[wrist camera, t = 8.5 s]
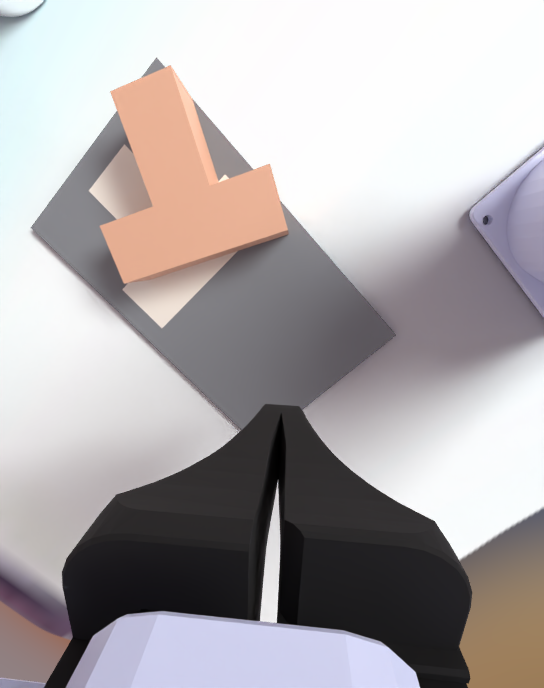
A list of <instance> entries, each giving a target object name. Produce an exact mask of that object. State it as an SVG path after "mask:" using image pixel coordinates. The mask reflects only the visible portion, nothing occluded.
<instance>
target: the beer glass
mask: <svg viewBox="0 0 544 688" xmlns="http://www.w3.org/2000/svg"><path fill="white" fill-rule="evenodd" d="M43 1H44V0H0V16H5V17H18V16H22V15H25V14H28V13H30V12H32V11H33V10H35V9H36V8H37V7H38V6H40V5H41V3H42V2H43Z"/></svg>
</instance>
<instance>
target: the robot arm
mask: <svg viewBox="0 0 544 688" xmlns="http://www.w3.org/2000/svg"><path fill="white" fill-rule="evenodd" d="M485 216H487V217H488V219H489V220H488V223H487V224H486V225H485V224H483V218H484V217H485ZM469 217H470V220H471V221H472V223H473V224H474V225H475V227H476V228H477V229H478V231H479V232H480V233H481V235H482V236H483V237H484V239H485V240H486V241H487V243H488V244H489V245H490V247H491V248H492V249H493V251H494V252H495V253H496V255H497V256H498V257H499V259H500V260H501V261H502V263H503V264H504V265H505V267H506V268H507V269H508V271H509V272H510V273H511V275H512V276H513V277H514V279H515V280H516V281H517V283H518V284H519V285H520V287H521V288H522V289H523V291H524V292H525V293H526V295H527V296H528V297H529V299H530V300H531V301H532V303H533V304H534V305H535V307H536V308H537V309H538V311H539V312H540V313H541V315H542V316H543V317H544V147H543V148H542V149H541V150H539V151H538V152H537V153H536V154H535V155H534V156H532V157H531V158H530V159H529V160H528V161H527V162H525V163H524V164H523V165H522V166H521V167H519V168H518V169H517V170H516V171H515V172H514V173H512V174H511V175H510V176H509V177H508V178H507V179H505V180H504V181H503V182H502V183H501V184H499V185H498V186H497V187H496V188H495V189H494V190H492V191H491V192H490V193H489V194H488V195H487V196H485V197H484V198H483V199H482V200H481V201H479V202H478V203H477V204H476V205H475V206H474V207H473V208H472V209H471V211H470V213H469ZM277 482H278V488H279V514H280V572H279V592H278V613H277V623H270V622H261V621H260V611H261V599H262V588H263V576H264V565H265V554H266V546H267V538H268V533H269V527H270V521H271V516H272V510H273V505H274V499H275V493H276V488H277ZM62 582H63V591H64V596H65V600H66V605H67V610H68V615H69V620H70V625H71V629H72V634H73V638H72V640H71V642H70V643H69V645H68V647H67V649H66V650H65V652H64V654H63V655H62V657H61V659H60V661H59V662H58V664H57V666H56V668H55V669H54V671H53V673H52V674H51V676H50V678H49V680H48V681H47V683H41V682H33V681H25V680H16V679H9V678H1V677H0V688H468V687H467V684H466V683H469V680H470V674H469V670H468V667H467V665H466V662H465V660H464V658H463V656H462V653H461V651H460V648H459V644H460V641H461V638H462V634H463V631H464V628H465V624H466V621H467V618H468V614H469V611H470V608H471V598H472V590H471V586H470V583H469V579H468V576H467V575H466V573H465V571H464V569H463V567H462V566H461V563H460V562H459V560H458V558H457V556H456V554H455V553H454V551H453V549H452V547H451V546H450V544H449V542H448V541H447V539H446V538H445V536H444V535H443V533H442V532H441V530H440V529H439V527H438V526H437V524H436V523H435V521H433V520H431V519H429V518H427V517H425V516H423V515H421V514H419V513H417V512H415V511H413V510H412V509H410V508H408V507H406V506H404V505H402V504H400V503H398V502H396V501H395V500H393V499H392V498H390V497H388V496H387V495H385V494H383V493H382V492H380V491H379V490H377V489H376V488H374V487H373V486H371V485H370V484H368V483H367V482H366V481H364V480H363V479H362V478H360V477H359V476H358V475H356V474H355V473H354V472H353V471H351V470H350V469H349V468H348V467H347V466H345V465H344V464H343V463H342V462H341V461H340V460H339V459H338V458H337V457H336V456H335V455H334V454H333V453H332V452H331V451H330V450H329V449H328V447H327V446H326V445H325V444H324V443H323V441H322V440H321V439H320V438H319V436H318V435H317V433H316V432H315V431H314V429H313V428H312V426H311V425H310V423H309V422H308V420H307V418H306V417H305V415H304V413H303V411H302V409H301V408H300V407H299V406H291V405H275V404H265V405H264V406H263V407H262V408H261V409H260V411H259V412H258V413H257V414H256V415H255V417H254V418H253V419H252V420H251V421H250V422H249V423H248V424H247V425H246V426H245V427H244V428H243V429H242V430H241V431H240V432H239V433H238V434H237V435H236V436H235V437H234V438H232V439H231V440H230V441H229V442H228V443H227V444H225V445H224V446H223V447H221V448H220V449H219V450H217V451H216V452H214V453H213V454H211V455H210V456H208V457H206V458H204V459H203V460H201V461H199V462H197V463H196V464H194V465H192V466H190V467H188V468H186V469H184V470H182V471H180V472H178V473H176V474H174V475H171V476H169V477H166V478H164V479H162V480H159V481H157V482H154V483H151V484H148V485H145V486H142V487H139V488H136V489H133V490H130V491H127V492H124V493H121V494H117V495H116V496H115V497H114V498H113V499H112V501H111V502H110V503H109V504H108V505H107V506H106V508H105V509H104V510H103V511H102V512H101V513H100V515H99V516H98V517H97V519H96V520H95V521H94V523H93V524H92V525H91V527H90V528H89V529H88V531H87V532H86V533H85V535H84V536H83V537H82V539H81V540H80V541H79V543H78V544H77V545H76V547H75V548H74V549H73V551H72V552H71V553H70V555H69V556H68V557H67V559H66V562H65V565H64V568H63V571H62Z"/></svg>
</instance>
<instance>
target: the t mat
mask: <svg viewBox="0 0 544 688" xmlns="http://www.w3.org/2000/svg"><path fill="white" fill-rule="evenodd" d="M163 68H165V67H164V66H163V64H162V63H161V62H160V61H159V60H158V59H157V58H156V59H155V60H154V62H153V63H152V64H151V66H150V67H149V68H148V70H147V71H146V72H145V74H144V75H143V76H142V78H143V77H145V76H147V75H149V74H152V73H154V72H156V71H159V70H161V69H163ZM193 103H194V106H195V109H196V112H197V115H198V118H199V122H200V125H201V128H202V131H203V134H204V137H205V140H206V144H207V147H208V150H209V153H210V156H211V159H212V163H213V166H214V169H215V172H216V175H217V178H218V181H219V182H221V181H224V180H227V179H230V178H232V177H235V176H238V175H241V174H243V173H246V172H249V171H251V170H253V169H252V168H251V166H250V165H249V164H248V163H247V162H246V161H245V159H244V158H243V157H242V156H241V155H240V154H239V153H238V151H237V150H236V149H235V148H234V147H233V146H232V144H231V143H230V142H229V141H228V140H227V139H226V137H225V136H224V135H223V134H222V133H221V132H220V131H219V129H218V128H217V127H216V126H215V125H214V124H213V122H212V121H211V120H210V119H209V118H208V117H207V115H206V114H205V113H204V112H203V111H202V110H201V108H200V107H199V106H198V105H197V104H196V103H195V102H194V100H193ZM280 203H281V207H282V210H283V214H284V217H285V221H286V225H287V228H288V233H289V234H288V235H285V236H282V237H279V238H276V239H273V240H270V241H267V242H264V243H260V244H257V245H254V246H251V247H248V248H245V249H242V250H239V251H236V252H233V253H230V254H227V255H224V256H221V257H218V258H215V259H212V260H208V261H205V262H202V263H199V264H196V265H193V266H190V267H187V268H184V269H181V270H178V271H175V272H172V273H169V274H166V275H163V276H160V277H156V278H153V279H150V280H145V281H138V282H132V283H126V284H124V283H123V280H122V278H121V276H120V273H119V271H118V268H117V266H116V264H115V261H114V259H113V257H112V254H111V252H110V249H109V247H108V245H107V242H106V240H105V238H104V235H103V233H102V230H101V228H100V226H101V225H103V224H106V223H109V222H112V221H114V220H117V219H120V218H123V217H125V216H128V215H131V214H134V213H136V212H139V211H142V210H145V209H147V208H150V207H153V205H152V202H151V199H150V197H149V194H148V191H147V189H146V186H145V183H144V181H143V178H142V175H141V173H140V170H139V167H138V165H137V162H136V159H135V157H134V154H133V151H132V149H131V146H130V143H129V141H128V138H127V135H126V132H125V130H124V127H123V124H122V122H121V119H120V116H119V114H118V111H117V112H116V113H115V114H114V116H113V117H112V118H111V120H110V121H109V123H108V124H107V125H106V127H105V128H104V129H103V131H102V132H101V133H100V135H99V136H98V137H97V139H96V140H95V141H94V143H93V144H92V146H91V147H90V148H89V150H88V151H87V152H86V154H85V155H84V156H83V158H82V159H81V160H80V162H79V163H78V165H77V166H76V167H75V169H74V170H73V171H72V173H71V174H70V175H69V177H68V178H67V179H66V181H65V182H64V183H63V185H62V186H61V188H60V189H59V190H58V192H57V193H56V194H55V196H54V197H53V198H52V200H51V201H50V202H49V204H48V205H47V207H46V208H45V209H44V211H43V212H42V213H41V215H40V216H39V217H38V219H37V220H36V221H35V223H34V224H33V225H32V227H31V228H32V229H33V230H34V231H35V232H36V233H37V234H38V235H39V236H40V237H41V238H42V239H43V240H44V241H45V242H46V243H47V244H48V245H49V246H50V247H52V248H53V249H54V250H55V251H56V252H57V253H58V254H59V255H60V256H61V257H62V258H63V259H64V260H65V261H66V262H67V263H68V264H69V265H70V266H71V267H72V268H73V269H74V270H75V271H77V272H78V273H79V274H80V275H81V276H82V277H83V278H84V279H85V280H86V281H87V282H88V283H89V284H90V285H91V286H92V287H93V288H94V289H95V290H96V291H97V292H98V293H99V294H100V295H101V296H103V297H104V298H105V299H106V300H107V301H108V302H109V303H110V304H111V305H112V306H113V307H114V308H115V309H116V310H117V311H118V312H119V313H120V314H121V315H122V316H123V317H124V318H125V319H126V320H128V321H129V322H130V323H131V324H132V325H133V326H134V327H135V328H136V329H137V330H138V331H139V332H140V333H141V334H142V335H143V336H144V337H145V338H146V339H147V340H148V341H149V342H150V343H151V344H153V345H154V346H155V347H156V348H157V349H158V350H159V351H160V352H161V353H162V354H163V355H164V356H165V357H166V358H167V359H168V360H169V361H170V362H171V363H172V364H173V365H174V366H175V367H176V368H177V369H179V370H180V371H181V372H182V373H183V374H184V375H185V376H186V377H187V378H188V379H189V380H190V381H191V382H192V383H193V384H194V385H195V386H196V387H197V388H198V389H199V390H200V391H201V392H202V393H204V394H205V395H206V396H207V397H208V398H209V399H210V400H211V401H212V402H213V403H214V404H215V405H216V406H217V407H218V408H219V409H220V410H221V411H222V412H223V413H224V414H225V415H226V416H227V417H229V418H230V419H231V420H232V421H233V422H234V423H235V424H236V425H237V426H238V427H239V428H240V429H241V430H242V429H243V428H244V427H245V426H246V425H247V424H248V423H249V422H250V421H251V420H252V419H253V418H254V417H255V415H256V414H257V413H258V412H259V411H260V409H261V408H262V407H263V406H264V405H265V404H275V405H291V406H299V407H300V408H301V409H303V408H305V407H306V406H307V405H308V404H310V403H311V402H312V401H313V400H315V399H316V398H317V397H319V396H320V395H321V394H322V393H324V392H325V391H326V390H327V389H329V388H330V387H331V386H332V385H334V384H335V383H336V382H337V381H339V380H340V379H341V378H343V377H344V376H345V375H346V374H348V373H349V372H350V371H351V370H353V369H354V368H355V367H356V366H358V365H359V364H360V363H361V362H363V361H364V360H365V359H367V358H368V357H369V356H370V355H372V354H373V353H374V352H375V351H377V350H378V349H379V348H380V347H382V346H383V345H384V344H385V343H387V342H388V341H389V340H391V339H392V338H393V337H394V336H396V334H395V333H394V332H393V331H392V330H391V329H390V328H389V326H388V325H387V324H386V323H385V322H384V321H383V319H382V318H381V317H380V316H379V315H378V314H377V312H376V311H375V310H374V309H373V308H372V307H371V306H370V304H369V303H368V302H367V301H366V300H365V299H364V297H363V296H362V295H361V294H360V293H359V292H358V290H357V289H356V288H355V287H354V286H353V285H352V283H351V282H350V281H349V280H348V279H347V278H346V277H345V275H344V274H343V273H342V272H341V271H340V270H339V268H338V267H337V266H336V265H335V264H334V263H333V261H332V260H331V259H330V258H329V257H328V256H327V255H326V253H325V252H324V251H323V250H322V249H321V248H320V246H319V245H318V244H317V243H316V242H315V241H314V239H313V238H312V237H311V236H310V235H309V234H308V232H307V231H306V230H305V229H304V228H303V227H302V226H301V224H300V223H299V222H298V221H297V220H296V219H295V217H294V216H293V215H292V214H291V213H290V212H289V210H288V209H287V208H286V207H285V206H284V205H283V204H282V202H281V201H280Z"/></svg>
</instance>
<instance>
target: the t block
mask: <svg viewBox="0 0 544 688" xmlns="http://www.w3.org/2000/svg"><path fill="white" fill-rule="evenodd" d="M110 92H111V95H112V98H113V100H114V103H115V106H116V108H117V111H118V114H119V116H120V119H121V122H122V124H123V127H124V130H125V132H126V135H127V138H128V141H129V143H130V146H131V149H132V151H133V154H134V157H135V159H136V162H137V165H138V167H139V170H140V173H141V175H142V178H143V181H144V183H145V186H146V189H147V191H148V194H149V197H150V199H151V202H152V205H153V207H150V208H147V209H145V210H142V211H139V212H136V213H134V214H131V215H128V216H125V217H123V218H120V219H117V220H114V221H112V222H109V223H106V224H103V225H101V226H100V228H101V230H102V233H103V235H104V238H105V240H106V242H107V245H108V247H109V249H110V252H111V254H112V257H113V259H114V261H115V264H116V266H117V268H118V271H119V273H120V276H121V278H122V280H123V283H124V284H126V283H132V282H138V281H145V280H150V279H153V278H156V277H160V276H163V275H166V274H169V273H172V272H175V271H178V270H181V269H184V268H187V267H190V266H193V265H196V264H199V263H202V262H205V261H208V260H212V259H215V258H218V257H221V256H224V255H227V254H230V253H233V252H236V251H239V250H242V249H245V248H248V247H251V246H254V245H257V244H260V243H264V242H267V241H270V240H273V239H276V238H279V237H282V236H285V235H288V234H289V233H288V228H287V225H286V221H285V217H284V214H283V210H282V207H281V203H280V199H279V196H278V192H277V188H276V185H275V181H274V177H273V174H272V170H271V166H270V164H268V165H265V166H262V167H260V168H257V169H254V170H251V171H249V172H246V173H243V174H241V175H238V176H235V177H232V178H230V179H227V180H224V181H221V182H219V181H218V178H217V175H216V172H215V169H214V166H213V163H212V159H211V156H210V153H209V150H208V147H207V144H206V140H205V137H204V134H203V131H202V128H201V125H200V122H199V118H198V115H197V112H196V109H195V106H194V103H193V99H192V98H191V96H190V95H189V93H188V92H187V90H186V88H185V87H184V85H183V84H182V82H181V81H180V79H179V78H178V76H177V74H176V73H175V71H174V70H173V68H172V67H171V65H170V66H168V67H166V68H163V69H161V70H159V71H156V72H154V73H152V74H149V75H147V76H145V77H143V78H140V79H138V80H136V81H133V82H131V83H129V84H126V85H124V86H122V87H119V88H117V89H115V90H113V91H110Z"/></svg>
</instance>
